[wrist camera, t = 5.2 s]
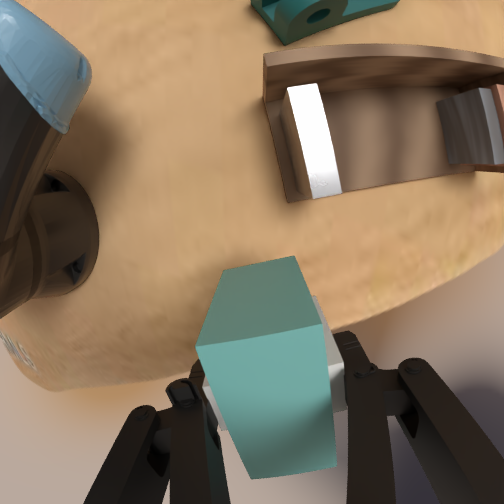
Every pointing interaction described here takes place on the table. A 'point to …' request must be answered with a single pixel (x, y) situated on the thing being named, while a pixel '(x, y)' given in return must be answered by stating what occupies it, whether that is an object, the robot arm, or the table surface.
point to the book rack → (394, 110)
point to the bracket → (313, 14)
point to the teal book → (270, 369)
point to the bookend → (309, 142)
